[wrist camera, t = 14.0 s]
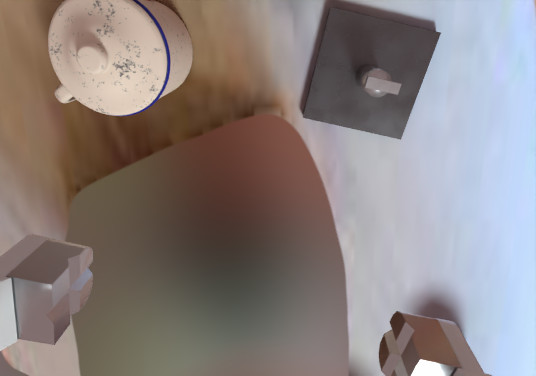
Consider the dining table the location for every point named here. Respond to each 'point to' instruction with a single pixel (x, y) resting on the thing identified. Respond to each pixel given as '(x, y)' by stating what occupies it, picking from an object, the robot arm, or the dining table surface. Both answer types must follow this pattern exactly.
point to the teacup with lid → (118, 53)
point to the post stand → (368, 72)
